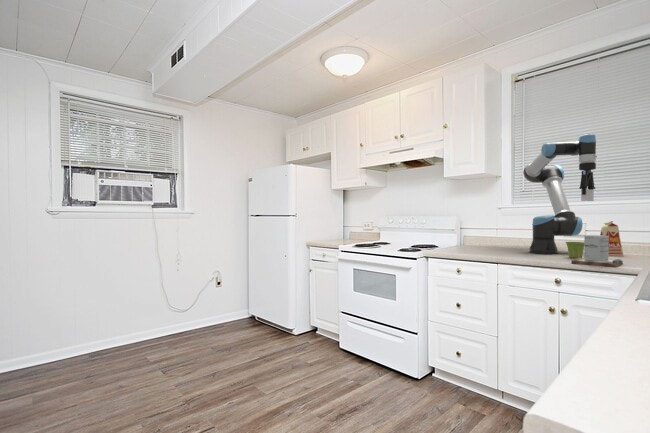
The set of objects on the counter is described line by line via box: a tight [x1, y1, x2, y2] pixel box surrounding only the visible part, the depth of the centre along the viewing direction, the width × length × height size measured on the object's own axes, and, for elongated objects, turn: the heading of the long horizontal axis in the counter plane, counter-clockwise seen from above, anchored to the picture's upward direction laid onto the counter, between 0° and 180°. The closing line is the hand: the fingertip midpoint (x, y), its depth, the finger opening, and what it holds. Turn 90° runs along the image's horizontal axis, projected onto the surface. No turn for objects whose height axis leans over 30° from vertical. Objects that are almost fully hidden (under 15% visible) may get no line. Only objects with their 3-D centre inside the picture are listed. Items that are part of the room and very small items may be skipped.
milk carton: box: [600, 220, 624, 257], centre depth 211 cm, size 9×9×20 cm
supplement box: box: [583, 234, 609, 262], centre depth 180 cm, size 7×7×13 cm
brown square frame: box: [570, 257, 624, 268], centre depth 180 cm, size 18×15×2 cm
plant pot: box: [565, 241, 584, 259], centre depth 202 cm, size 9×9×9 cm
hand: (587, 201), depth 200 cm, fingers open, 13 cm apart
